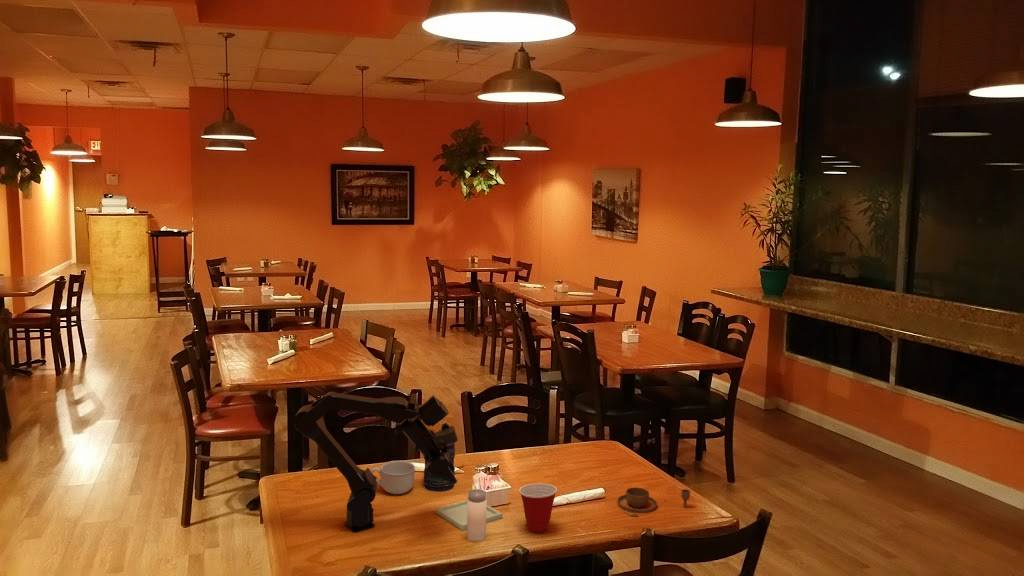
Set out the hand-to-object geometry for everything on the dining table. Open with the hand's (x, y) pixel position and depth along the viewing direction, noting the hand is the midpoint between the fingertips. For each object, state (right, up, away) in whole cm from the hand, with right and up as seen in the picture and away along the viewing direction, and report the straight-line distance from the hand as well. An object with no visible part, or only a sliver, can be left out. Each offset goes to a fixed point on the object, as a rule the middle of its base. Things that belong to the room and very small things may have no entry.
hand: (454, 476), depth 219 cm
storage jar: (-7, -10, +29) cm, 32 cm away
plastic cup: (+23, -15, 0) cm, 28 cm away
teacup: (-21, -11, +25) cm, 34 cm away
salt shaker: (+6, -15, -6) cm, 18 cm away
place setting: (+58, -14, +16) cm, 62 cm away
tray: (+3, -13, +7) cm, 16 cm away
